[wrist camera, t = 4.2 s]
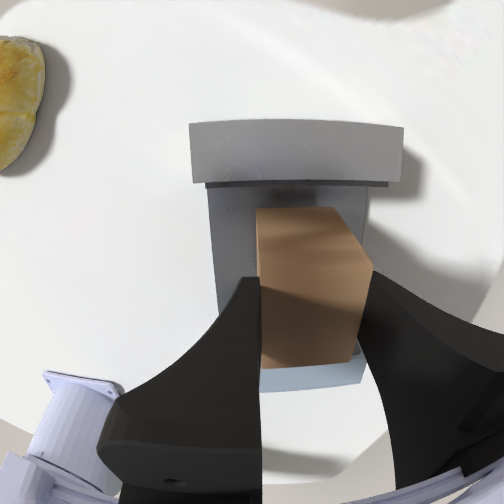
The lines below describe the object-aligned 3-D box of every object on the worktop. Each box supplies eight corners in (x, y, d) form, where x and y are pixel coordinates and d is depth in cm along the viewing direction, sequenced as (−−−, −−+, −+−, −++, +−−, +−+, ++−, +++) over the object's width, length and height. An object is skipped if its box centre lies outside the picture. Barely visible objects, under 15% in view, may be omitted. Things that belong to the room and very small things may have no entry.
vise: (342, 343, 19) (357, 385, 16) (224, 350, 19) (220, 395, 16) (367, 123, 13) (403, 127, 10) (204, 122, 13) (188, 123, 10)
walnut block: (333, 207, 13) (373, 265, 9) (325, 289, 15) (350, 362, 11) (255, 208, 13) (260, 269, 9) (257, 292, 15) (261, 369, 11)
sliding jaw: (345, 343, 18) (360, 383, 15) (222, 351, 18) (219, 393, 15) (351, 314, 17) (369, 353, 14) (219, 320, 17) (214, 363, 14)
